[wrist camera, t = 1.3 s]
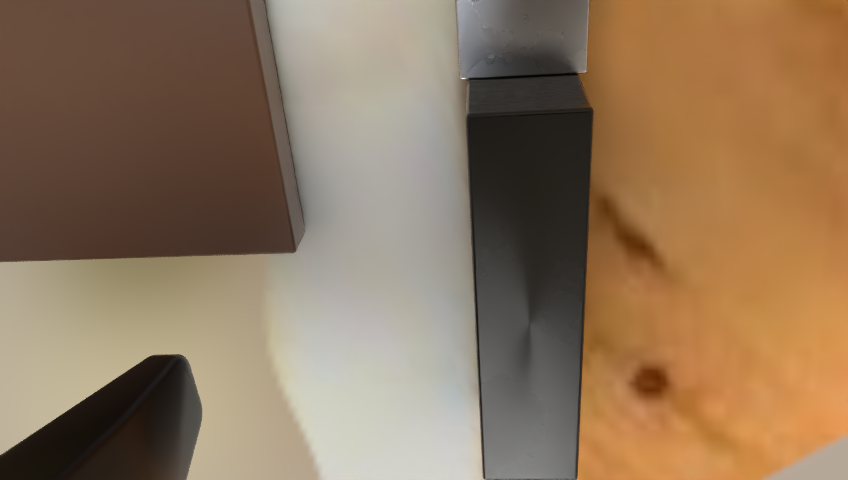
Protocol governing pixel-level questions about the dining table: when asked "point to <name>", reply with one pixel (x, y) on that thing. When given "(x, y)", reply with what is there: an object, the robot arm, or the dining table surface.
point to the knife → (528, 226)
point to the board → (142, 131)
